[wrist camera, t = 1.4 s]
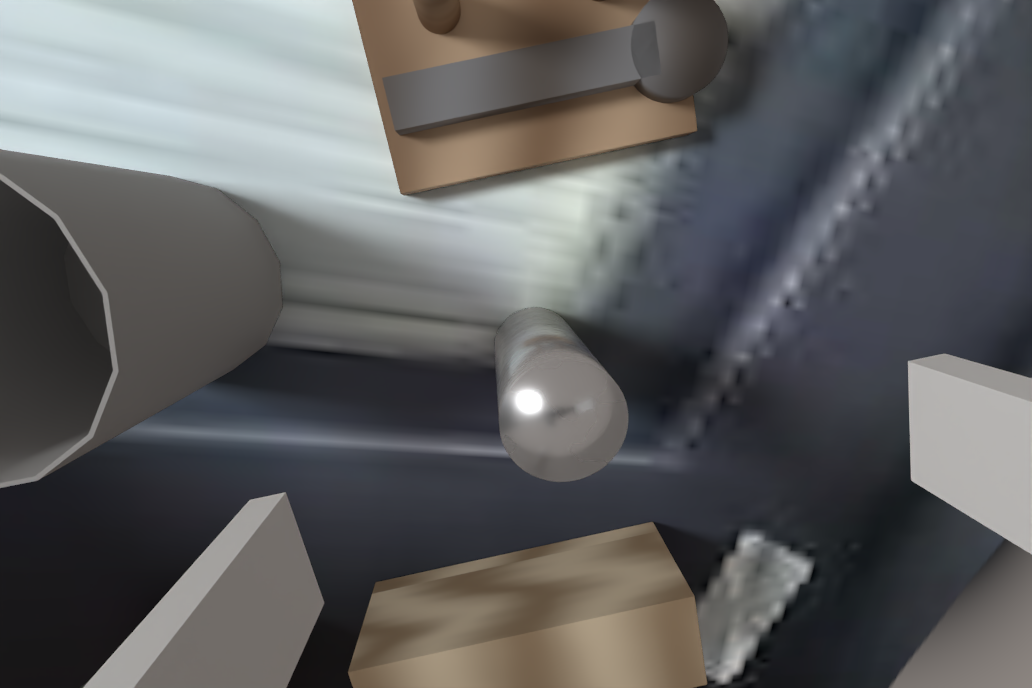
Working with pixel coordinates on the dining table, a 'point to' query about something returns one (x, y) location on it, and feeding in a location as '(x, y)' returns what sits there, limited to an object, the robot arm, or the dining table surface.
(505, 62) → the peg rack
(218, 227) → the cup
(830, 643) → the dining table surface
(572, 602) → the slot block
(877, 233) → the dining table surface
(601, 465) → the pin
